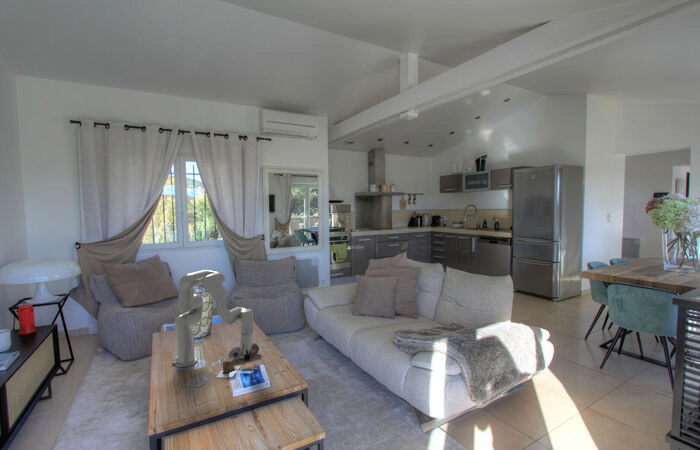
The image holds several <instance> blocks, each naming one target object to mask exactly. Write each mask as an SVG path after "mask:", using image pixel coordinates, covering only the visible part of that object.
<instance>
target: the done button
mask: <svg viewBox="0 0 700 450" xmlns="http://www.w3.org/2000/svg"><path fill="white" fill-rule="evenodd" d="M245 364H246V365H245ZM245 364H244V365H245V367H244V368H252V367H253V366H254V364H255V363H245Z"/></svg>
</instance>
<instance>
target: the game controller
mask: <svg viewBox="0 0 700 450" xmlns="http://www.w3.org/2000/svg"><path fill="white" fill-rule="evenodd" d="M259 351H260V346H259V345H258V344H257V343H256V342H253V345H252V347H251V352H250V357H254V356H256V355H257V354H258V353H259ZM243 352H244V349H243V350H242V351H240V345H239V346H234V347H232V348H231V349H230V350H229V351H228V358H234V362H235V361H238V360H239V359H241V358H244V354H243Z"/></svg>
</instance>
